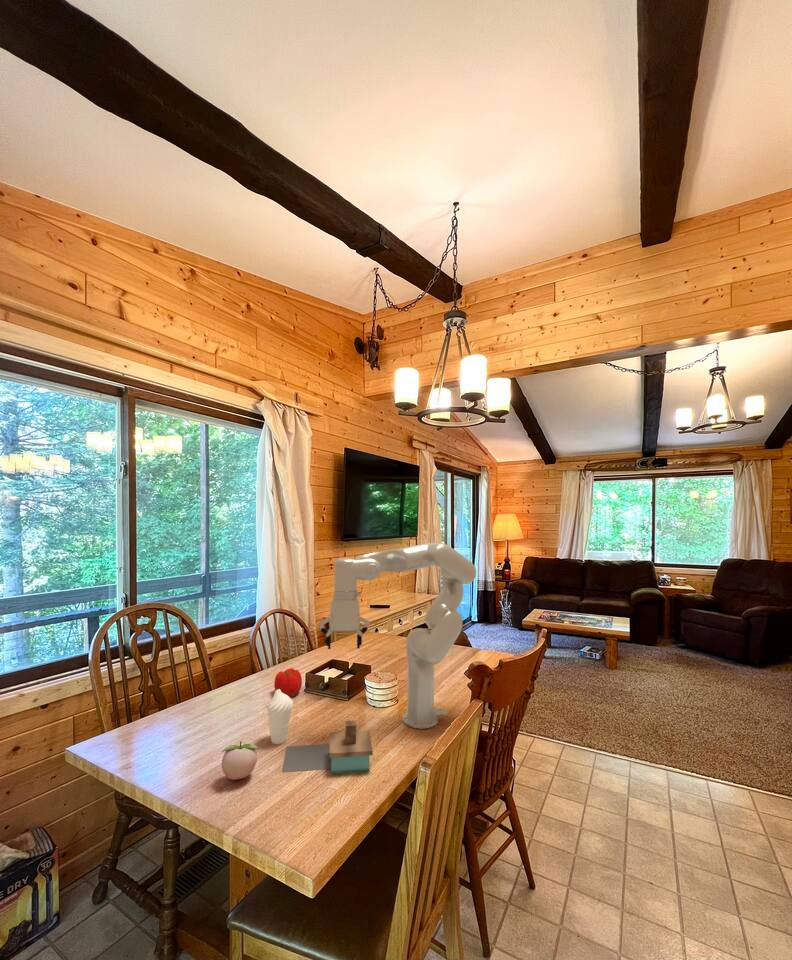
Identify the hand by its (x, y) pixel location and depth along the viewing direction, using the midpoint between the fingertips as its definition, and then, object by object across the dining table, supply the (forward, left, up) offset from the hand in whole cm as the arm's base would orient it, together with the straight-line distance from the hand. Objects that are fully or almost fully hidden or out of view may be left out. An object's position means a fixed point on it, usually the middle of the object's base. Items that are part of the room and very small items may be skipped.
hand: (343, 647), depth 145 cm
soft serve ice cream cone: (+20, +1, -28) cm, 35 cm away
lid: (-2, +16, -23) cm, 28 cm away
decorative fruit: (+28, +21, -28) cm, 45 cm away
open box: (-2, +16, -28) cm, 33 cm away
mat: (+10, +12, -28) cm, 32 cm away
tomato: (+21, -37, -28) cm, 51 cm away
